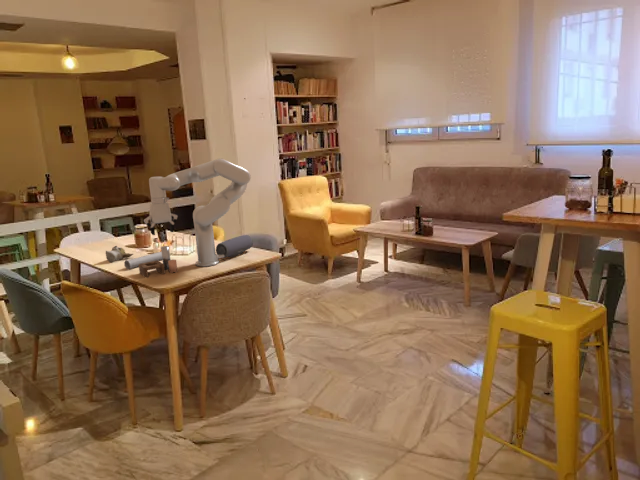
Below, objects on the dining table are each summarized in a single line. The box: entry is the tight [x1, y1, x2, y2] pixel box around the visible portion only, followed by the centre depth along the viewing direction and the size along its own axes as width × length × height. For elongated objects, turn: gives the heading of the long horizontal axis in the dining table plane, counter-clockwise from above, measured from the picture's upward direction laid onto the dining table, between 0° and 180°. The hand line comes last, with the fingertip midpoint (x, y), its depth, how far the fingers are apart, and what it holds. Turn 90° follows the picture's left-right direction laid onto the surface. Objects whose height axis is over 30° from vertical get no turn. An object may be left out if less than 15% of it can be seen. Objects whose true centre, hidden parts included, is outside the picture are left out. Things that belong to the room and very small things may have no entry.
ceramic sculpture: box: [105, 245, 134, 263], centre depth 293 cm, size 11×9×15 cm
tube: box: [123, 251, 163, 270], centre depth 282 cm, size 5×5×25 cm
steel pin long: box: [160, 245, 171, 271], centre depth 268 cm, size 4×4×12 cm
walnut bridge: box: [138, 260, 166, 278], centre depth 262 cm, size 10×10×5 cm
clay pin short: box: [168, 259, 178, 274], centre depth 263 cm, size 4×4×6 cm
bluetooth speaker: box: [215, 234, 254, 259], centre depth 289 cm, size 23×9×10 cm, turn 149°
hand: (162, 233), depth 265 cm, fingers open, 9 cm apart
